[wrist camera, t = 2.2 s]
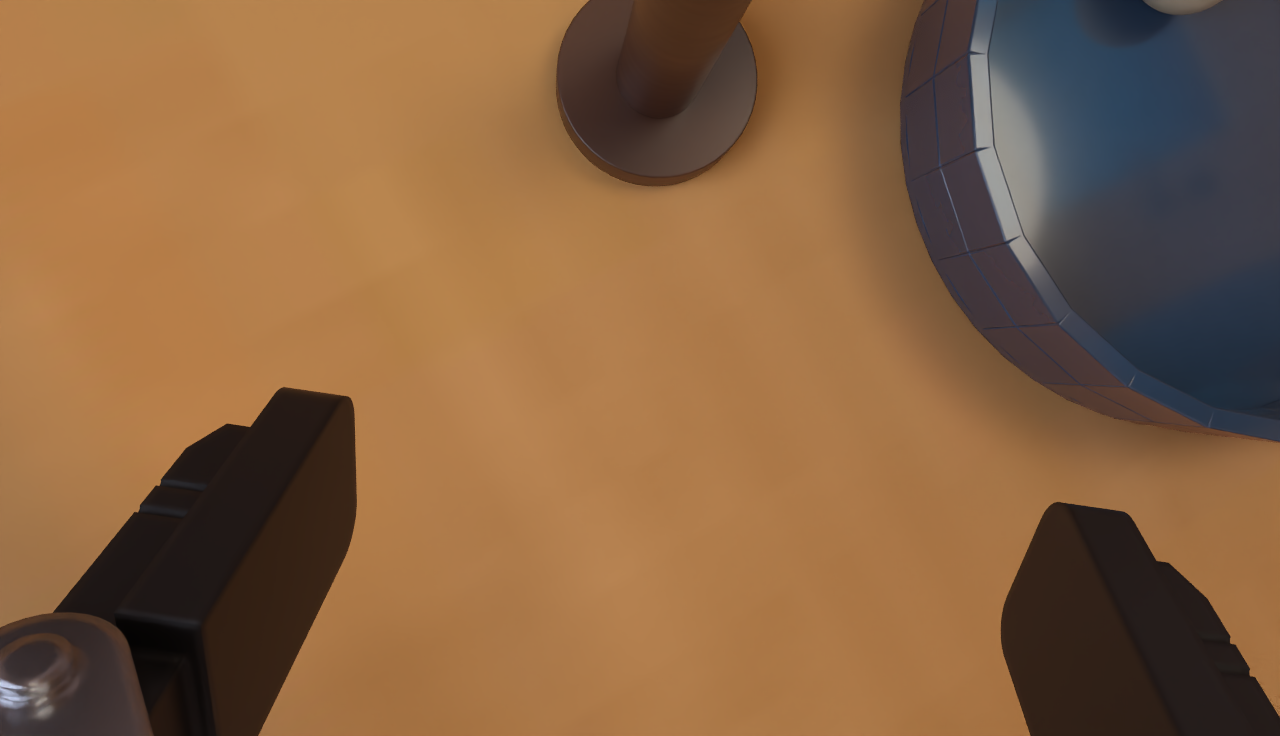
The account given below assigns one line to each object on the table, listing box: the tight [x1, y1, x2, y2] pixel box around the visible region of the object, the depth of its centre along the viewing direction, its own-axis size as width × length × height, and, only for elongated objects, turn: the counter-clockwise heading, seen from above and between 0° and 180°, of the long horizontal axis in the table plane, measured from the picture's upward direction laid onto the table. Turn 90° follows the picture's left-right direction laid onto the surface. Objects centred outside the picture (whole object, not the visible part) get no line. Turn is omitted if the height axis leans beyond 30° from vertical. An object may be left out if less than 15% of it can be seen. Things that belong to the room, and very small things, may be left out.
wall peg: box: [556, 0, 757, 186], centre depth 24 cm, size 6×6×13 cm
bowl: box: [900, 0, 1280, 443], centre depth 29 cm, size 20×20×5 cm
